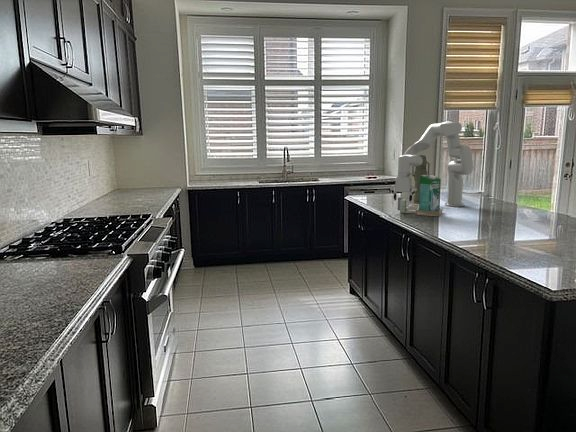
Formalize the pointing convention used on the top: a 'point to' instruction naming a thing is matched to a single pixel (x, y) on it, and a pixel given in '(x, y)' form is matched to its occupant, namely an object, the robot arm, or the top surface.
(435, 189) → the milk carton
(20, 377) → the top surface
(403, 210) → the carton sled
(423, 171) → the thermos
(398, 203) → the cube sled
